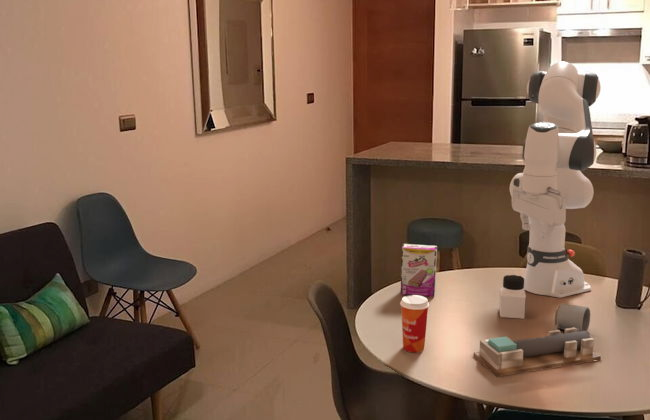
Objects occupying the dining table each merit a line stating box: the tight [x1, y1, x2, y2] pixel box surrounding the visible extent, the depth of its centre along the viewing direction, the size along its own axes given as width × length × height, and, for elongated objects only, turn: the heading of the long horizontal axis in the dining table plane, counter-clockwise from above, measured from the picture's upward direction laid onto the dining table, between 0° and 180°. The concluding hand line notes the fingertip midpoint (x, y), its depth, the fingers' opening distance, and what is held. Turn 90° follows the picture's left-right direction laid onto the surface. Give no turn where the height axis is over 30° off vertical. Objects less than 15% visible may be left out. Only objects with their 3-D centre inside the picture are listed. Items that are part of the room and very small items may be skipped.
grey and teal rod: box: [488, 331, 591, 358], centre depth 174 cm, size 28×5×5 cm, turn 107°
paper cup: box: [399, 295, 430, 354], centre depth 179 cm, size 8×8×14 cm
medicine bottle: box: [498, 273, 527, 320], centre depth 202 cm, size 7×7×12 cm
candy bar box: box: [400, 243, 438, 298], centre depth 219 cm, size 11×5×16 cm, turn 78°
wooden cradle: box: [473, 327, 602, 377], centre depth 174 cm, size 30×12×5 cm, turn 107°
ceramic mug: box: [554, 303, 591, 334], centre depth 190 cm, size 11×8×8 cm
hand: (536, 234), depth 183 cm, fingers open, 8 cm apart
